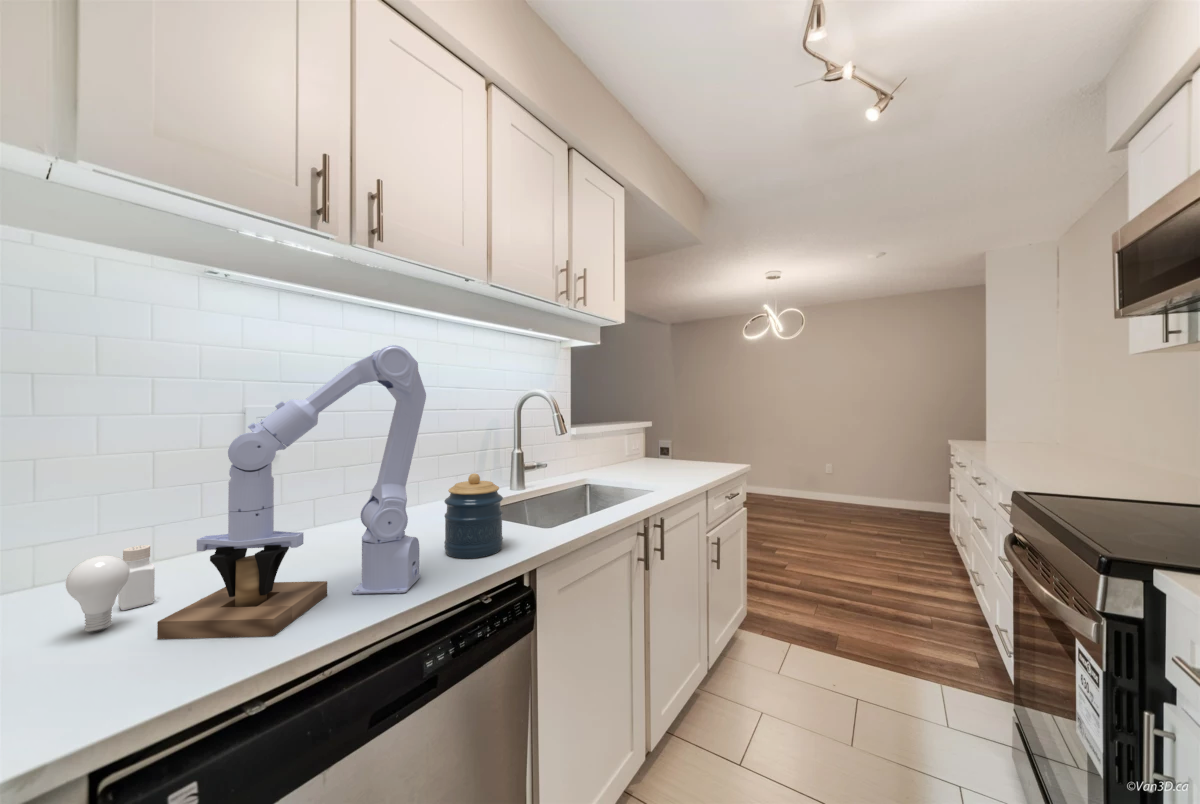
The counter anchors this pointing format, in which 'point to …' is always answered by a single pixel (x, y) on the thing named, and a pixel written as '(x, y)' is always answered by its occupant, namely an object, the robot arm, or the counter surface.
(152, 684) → the counter surface
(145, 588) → the salt shaker
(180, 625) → the socket board
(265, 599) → the peg
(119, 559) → the lightbulb
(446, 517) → the canister
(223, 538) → the robot arm
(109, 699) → the counter surface
